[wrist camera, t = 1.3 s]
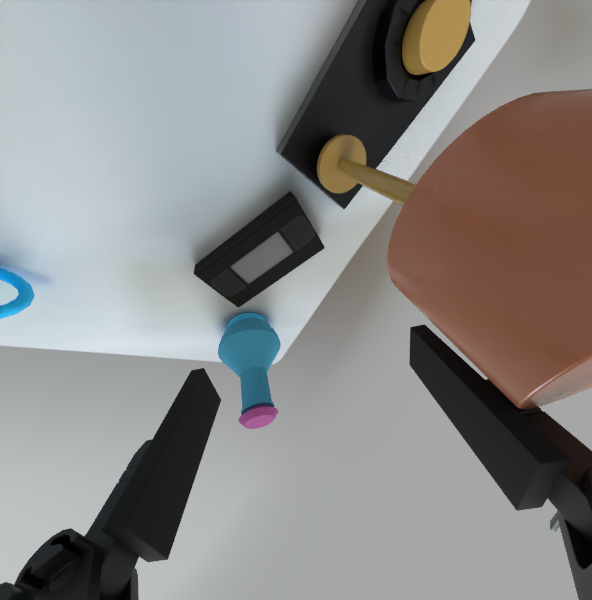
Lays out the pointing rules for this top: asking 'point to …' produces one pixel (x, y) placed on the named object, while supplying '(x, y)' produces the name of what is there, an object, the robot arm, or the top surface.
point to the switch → (435, 35)
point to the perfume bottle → (251, 365)
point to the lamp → (499, 241)
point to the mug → (21, 300)
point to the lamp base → (363, 91)
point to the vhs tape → (261, 252)
